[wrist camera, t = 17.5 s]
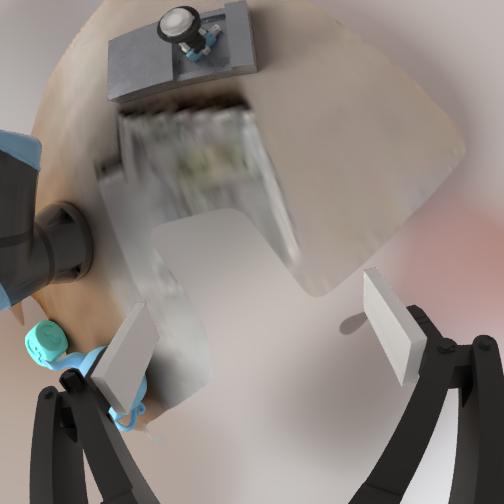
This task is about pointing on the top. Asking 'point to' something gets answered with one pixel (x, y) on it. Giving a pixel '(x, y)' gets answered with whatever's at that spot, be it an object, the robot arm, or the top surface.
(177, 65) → the grey recessed block
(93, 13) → the top surface
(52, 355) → the decorative dice
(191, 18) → the push button
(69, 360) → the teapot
